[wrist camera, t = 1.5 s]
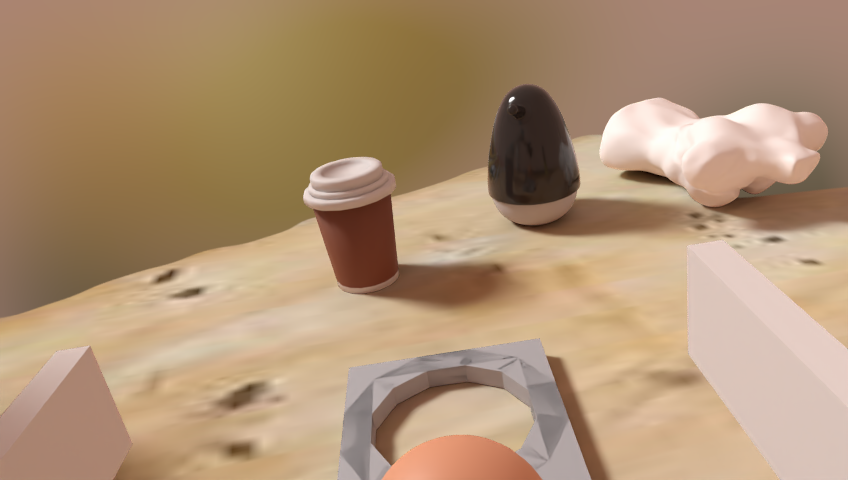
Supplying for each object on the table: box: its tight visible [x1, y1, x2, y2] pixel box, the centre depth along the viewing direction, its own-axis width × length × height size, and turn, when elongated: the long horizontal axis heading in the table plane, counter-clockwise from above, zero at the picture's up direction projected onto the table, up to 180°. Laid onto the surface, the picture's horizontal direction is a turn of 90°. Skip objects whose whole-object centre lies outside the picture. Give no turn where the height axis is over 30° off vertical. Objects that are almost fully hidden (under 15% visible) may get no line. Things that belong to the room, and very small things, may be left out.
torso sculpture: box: [600, 98, 828, 207], centre depth 74 cm, size 18×10×25 cm
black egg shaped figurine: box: [488, 84, 580, 225], centre depth 73 cm, size 10×10×15 cm
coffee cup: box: [303, 157, 399, 294], centre depth 66 cm, size 9×9×12 cm
